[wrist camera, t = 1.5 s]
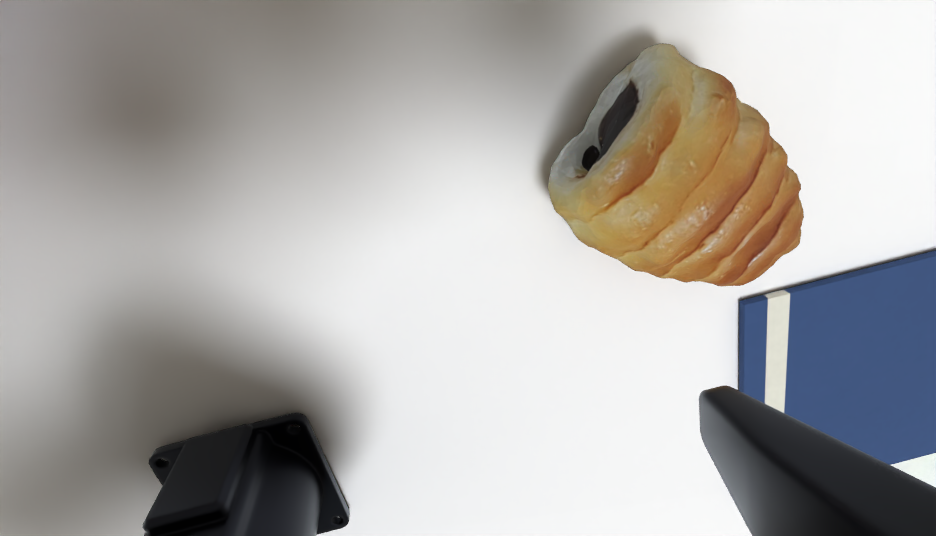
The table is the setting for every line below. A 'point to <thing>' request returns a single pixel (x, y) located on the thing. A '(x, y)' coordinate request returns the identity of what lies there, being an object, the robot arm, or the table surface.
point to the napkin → (850, 356)
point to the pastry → (678, 176)
